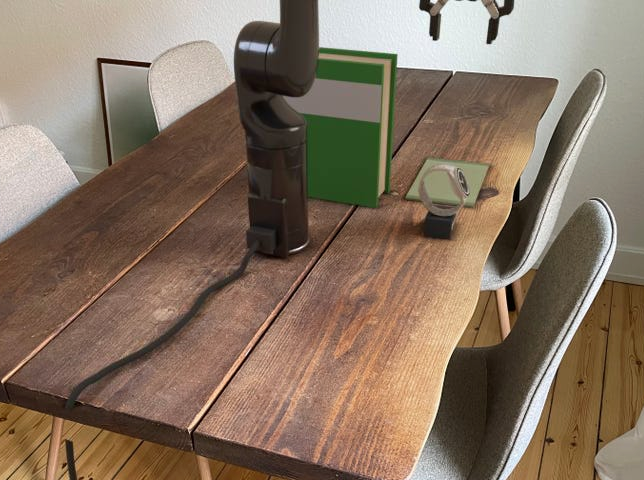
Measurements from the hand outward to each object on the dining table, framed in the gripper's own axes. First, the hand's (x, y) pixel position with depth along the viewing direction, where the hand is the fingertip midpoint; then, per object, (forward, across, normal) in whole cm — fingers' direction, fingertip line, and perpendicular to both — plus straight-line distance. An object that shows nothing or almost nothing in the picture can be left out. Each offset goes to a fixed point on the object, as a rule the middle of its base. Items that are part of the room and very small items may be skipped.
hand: (462, 41), depth 120 cm
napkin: (+26, -1, +6) cm, 27 cm away
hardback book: (+26, -19, -5) cm, 33 cm away
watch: (+26, +2, -14) cm, 30 cm away
